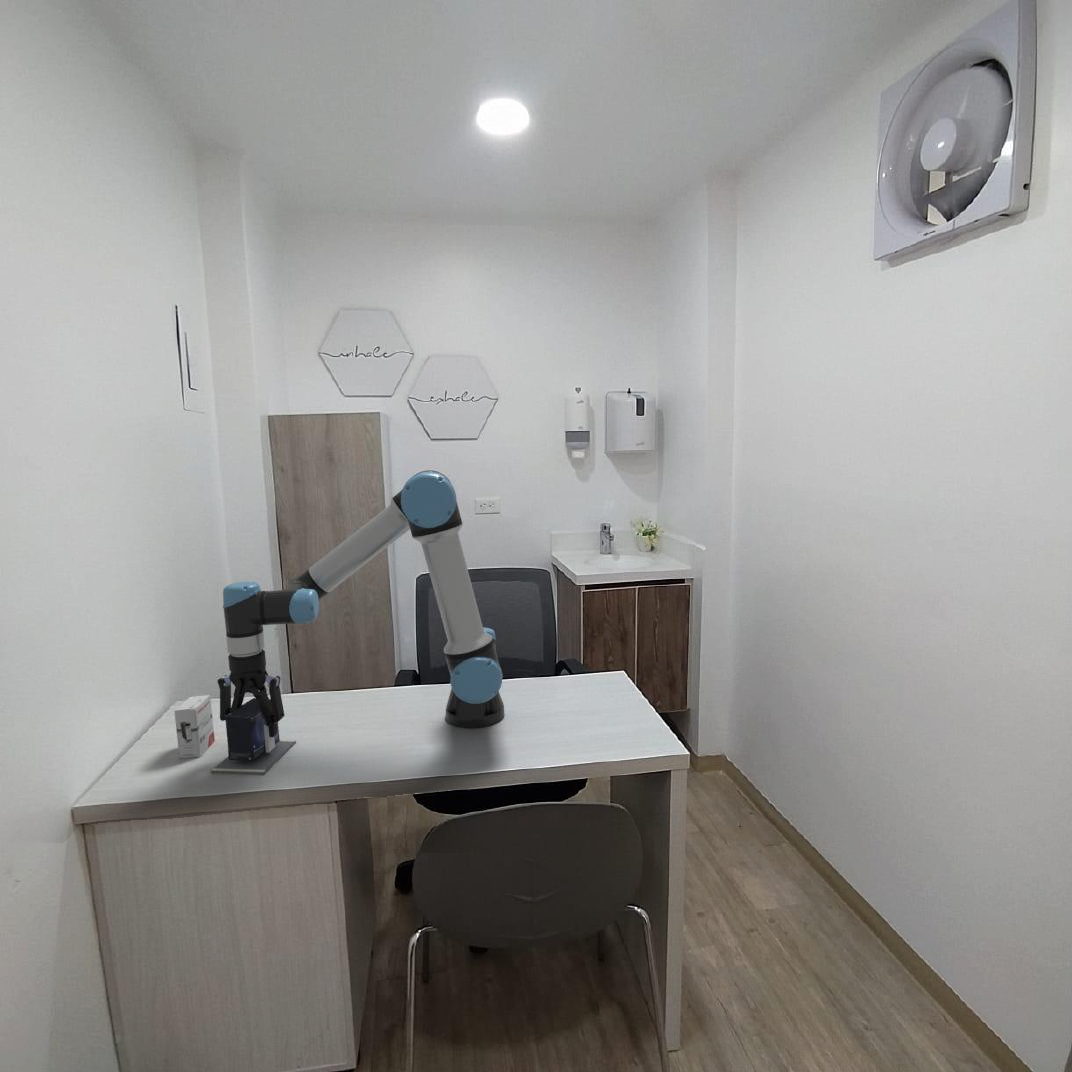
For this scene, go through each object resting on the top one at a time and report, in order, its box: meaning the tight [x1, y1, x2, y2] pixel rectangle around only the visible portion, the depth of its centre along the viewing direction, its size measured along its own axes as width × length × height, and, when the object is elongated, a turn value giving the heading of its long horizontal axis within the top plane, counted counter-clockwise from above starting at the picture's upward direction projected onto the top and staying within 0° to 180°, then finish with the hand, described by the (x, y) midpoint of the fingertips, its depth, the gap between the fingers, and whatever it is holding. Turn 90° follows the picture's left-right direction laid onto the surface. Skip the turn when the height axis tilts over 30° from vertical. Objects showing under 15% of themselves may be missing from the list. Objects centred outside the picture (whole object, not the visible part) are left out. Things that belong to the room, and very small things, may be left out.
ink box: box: [173, 694, 216, 759], centre depth 150 cm, size 9×5×12 cm, turn 5°
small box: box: [224, 697, 281, 762], centre depth 145 cm, size 11×6×10 cm, turn 169°
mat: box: [210, 739, 297, 776], centre depth 146 cm, size 12×15×1 cm
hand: (255, 749), depth 146 cm, fingers closed on small box, 7 cm apart
